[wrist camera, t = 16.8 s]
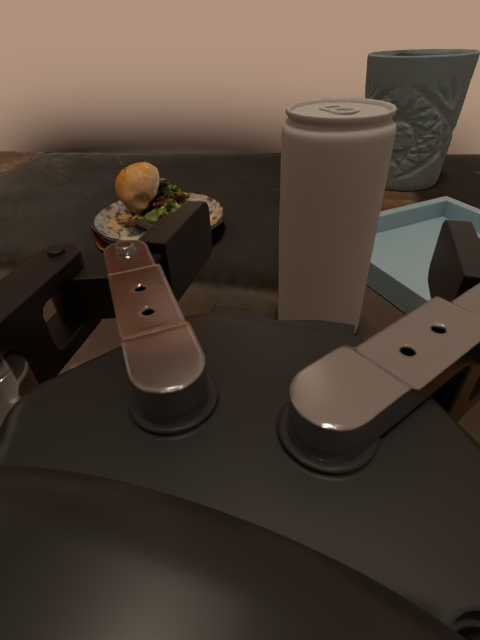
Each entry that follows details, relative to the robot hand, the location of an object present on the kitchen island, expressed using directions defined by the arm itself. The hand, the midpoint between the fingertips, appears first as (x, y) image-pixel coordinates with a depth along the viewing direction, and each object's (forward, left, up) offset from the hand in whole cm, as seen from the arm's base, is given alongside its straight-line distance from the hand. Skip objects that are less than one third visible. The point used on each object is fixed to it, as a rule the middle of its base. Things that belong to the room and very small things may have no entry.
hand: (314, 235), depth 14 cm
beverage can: (-5, +4, -9) cm, 11 cm away
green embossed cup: (-24, +27, -9) cm, 37 cm away
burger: (-23, -1, -9) cm, 25 cm away
